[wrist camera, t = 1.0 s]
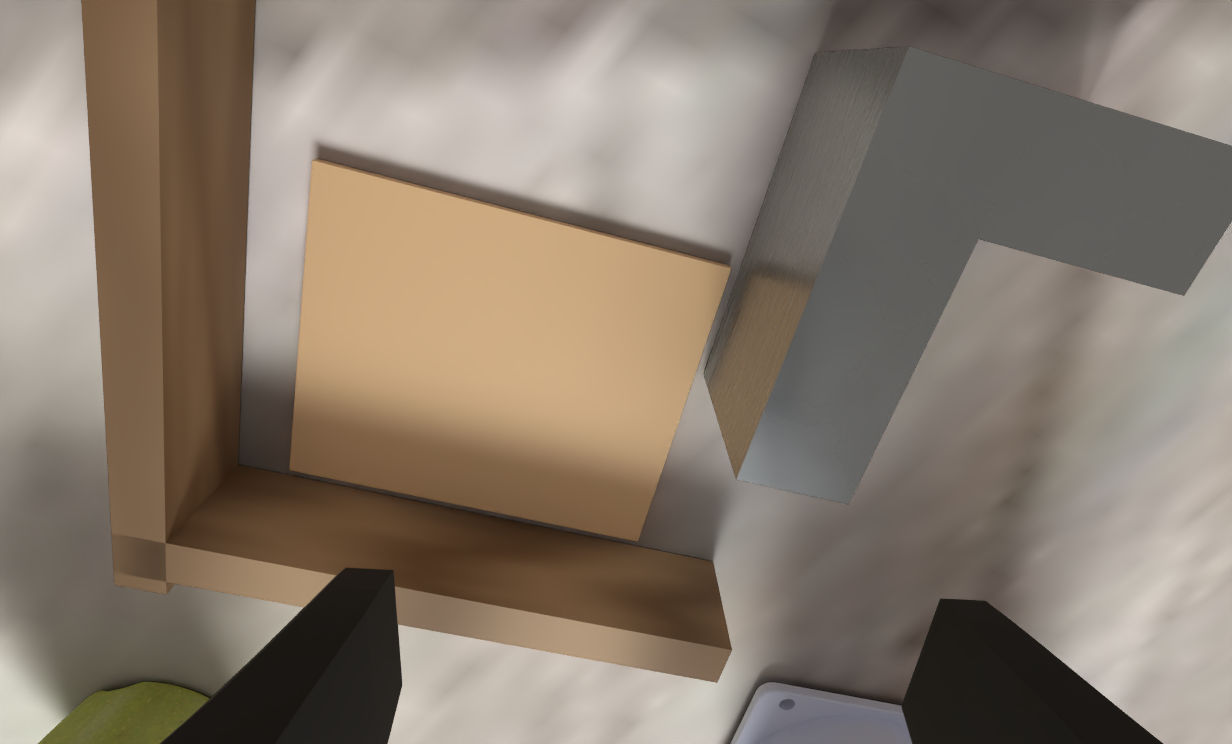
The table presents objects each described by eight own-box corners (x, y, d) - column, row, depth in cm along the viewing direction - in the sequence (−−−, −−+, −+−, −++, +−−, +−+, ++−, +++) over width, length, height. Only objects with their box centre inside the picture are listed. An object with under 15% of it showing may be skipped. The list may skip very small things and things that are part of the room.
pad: (729, 265, 17) (731, 268, 16) (637, 535, 20) (637, 541, 20) (317, 158, 15) (311, 160, 15) (293, 464, 19) (289, 470, 19)
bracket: (815, 52, 15) (909, 45, 10) (1075, 130, 15) (1271, 158, 11) (703, 374, 18) (736, 479, 13) (923, 426, 19) (1025, 543, 14)
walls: (880, 148, 15) (949, 169, 12) (696, 601, 21) (712, 692, 18) (196, -49, 14) (76, -82, 11) (193, 502, 19) (114, 584, 16)
